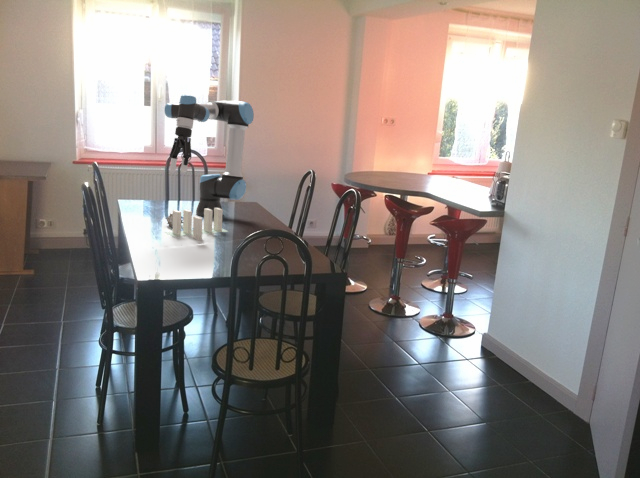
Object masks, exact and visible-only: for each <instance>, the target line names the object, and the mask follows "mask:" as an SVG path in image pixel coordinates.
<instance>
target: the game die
mask: <svg viewBox="0 0 640 478" xmlns="http://www.w3.org/2000/svg"><path fill="white" fill-rule="evenodd" d="M182 217H183V216H181V224H183V220H182ZM164 219H166V220H167V225H168V226H169V227H172V228H173V213H169V216H168V217H164Z"/></svg>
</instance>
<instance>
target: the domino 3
mask: <svg viewBox="0 0 640 478" xmlns="http://www.w3.org/2000/svg"><path fill="white" fill-rule="evenodd" d="M192 218H193V219H192V223H193V224H192V227H193V229H192V230H193V235H192V238H194V239H195V240H198V241H199V240H203V234H202V229H203V218H202V217H201V216H200V217H199V215H197V216H193V217H192Z"/></svg>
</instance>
